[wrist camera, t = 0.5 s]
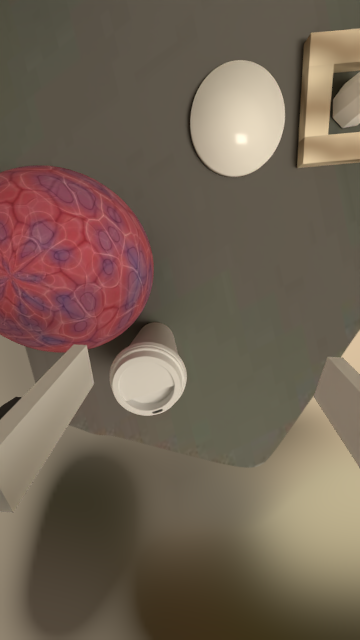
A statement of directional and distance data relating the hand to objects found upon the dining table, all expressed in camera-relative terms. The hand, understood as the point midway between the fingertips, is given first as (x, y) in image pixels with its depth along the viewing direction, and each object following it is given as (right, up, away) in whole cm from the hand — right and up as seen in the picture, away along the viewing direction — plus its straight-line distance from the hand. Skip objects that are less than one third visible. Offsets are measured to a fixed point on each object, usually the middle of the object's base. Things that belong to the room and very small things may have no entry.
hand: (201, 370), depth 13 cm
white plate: (+7, +30, +19) cm, 36 cm away
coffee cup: (-6, -1, +28) cm, 28 cm away
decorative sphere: (-15, +12, +24) cm, 30 cm away
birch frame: (+22, +33, +19) cm, 44 cm away
